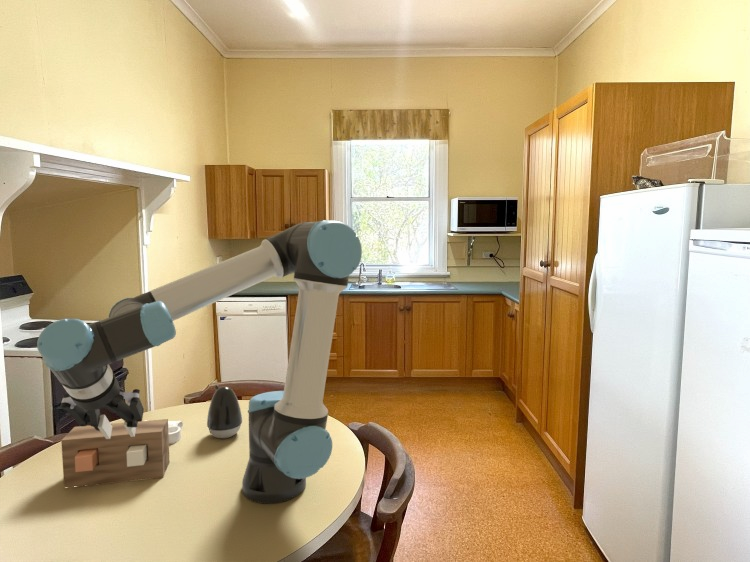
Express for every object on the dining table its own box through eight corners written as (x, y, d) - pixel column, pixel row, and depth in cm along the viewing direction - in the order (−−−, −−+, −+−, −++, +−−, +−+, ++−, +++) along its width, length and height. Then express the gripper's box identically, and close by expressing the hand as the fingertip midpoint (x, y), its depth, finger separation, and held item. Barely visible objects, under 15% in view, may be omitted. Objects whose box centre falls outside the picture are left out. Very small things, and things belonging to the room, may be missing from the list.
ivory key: (143, 465, 110) (142, 450, 109) (127, 466, 109) (126, 452, 109) (148, 455, 115) (147, 441, 114) (132, 457, 114) (132, 443, 113)
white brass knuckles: (192, 428, 144) (170, 450, 130) (137, 427, 145) (109, 448, 130) (192, 418, 144) (170, 438, 129) (136, 417, 144) (108, 437, 130)
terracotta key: (92, 470, 107) (91, 455, 107) (75, 472, 106) (74, 457, 106) (99, 460, 112) (99, 446, 112) (83, 461, 111) (82, 447, 111)
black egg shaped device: (232, 424, 146) (231, 379, 145) (248, 435, 139) (247, 386, 137) (201, 434, 139) (200, 386, 138) (216, 445, 132) (215, 394, 130)
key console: (163, 477, 114) (161, 431, 113) (64, 488, 109) (61, 440, 108) (169, 462, 122) (167, 418, 121) (77, 471, 116) (74, 426, 115)
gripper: (29, 405, 77) (73, 453, 95) (139, 397, 82) (162, 444, 99) (41, 366, 82) (81, 419, 100) (145, 360, 86) (166, 412, 104)
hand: (121, 431), depth 99 cm, fingers open, 4 cm apart
